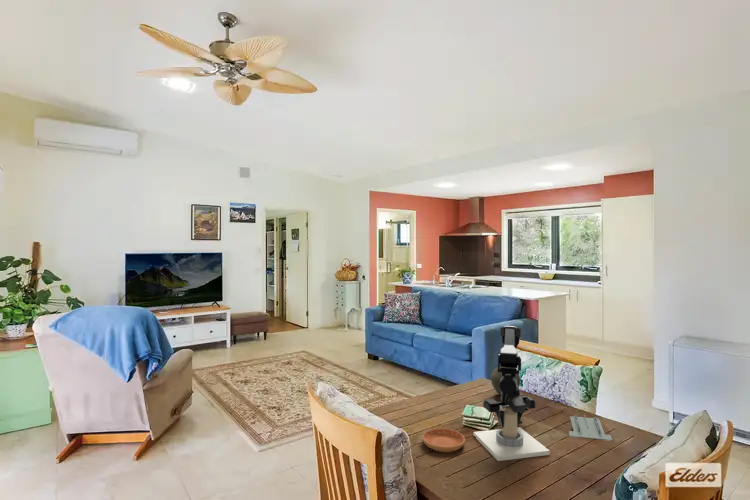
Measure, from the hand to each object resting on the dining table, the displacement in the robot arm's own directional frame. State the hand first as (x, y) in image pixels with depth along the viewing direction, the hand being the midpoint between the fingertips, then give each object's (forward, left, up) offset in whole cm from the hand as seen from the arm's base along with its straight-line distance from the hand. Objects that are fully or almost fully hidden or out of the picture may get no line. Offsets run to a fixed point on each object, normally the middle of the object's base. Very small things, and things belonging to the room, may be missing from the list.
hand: (509, 426), depth 158 cm
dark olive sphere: (-47, +24, -7) cm, 53 cm away
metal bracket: (-3, +36, -8) cm, 37 cm away
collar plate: (0, 0, -7) cm, 7 cm away
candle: (0, 0, -3) cm, 3 cm away
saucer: (-6, -24, -7) cm, 26 cm away
